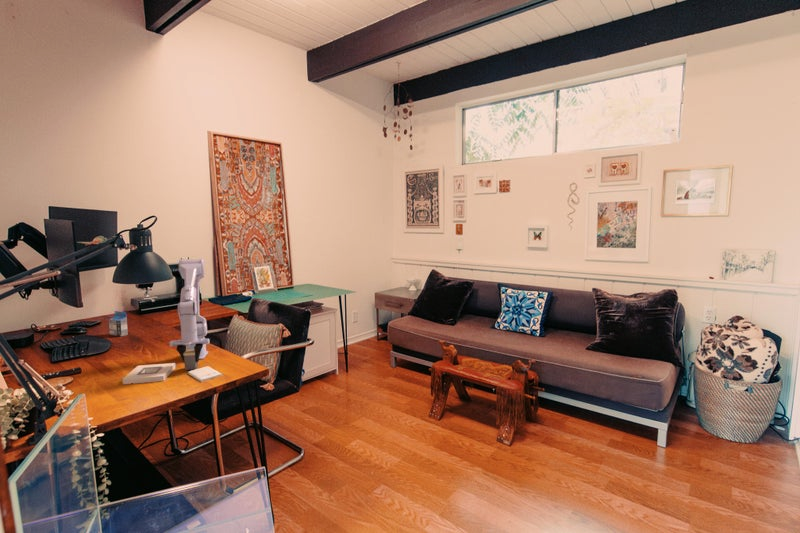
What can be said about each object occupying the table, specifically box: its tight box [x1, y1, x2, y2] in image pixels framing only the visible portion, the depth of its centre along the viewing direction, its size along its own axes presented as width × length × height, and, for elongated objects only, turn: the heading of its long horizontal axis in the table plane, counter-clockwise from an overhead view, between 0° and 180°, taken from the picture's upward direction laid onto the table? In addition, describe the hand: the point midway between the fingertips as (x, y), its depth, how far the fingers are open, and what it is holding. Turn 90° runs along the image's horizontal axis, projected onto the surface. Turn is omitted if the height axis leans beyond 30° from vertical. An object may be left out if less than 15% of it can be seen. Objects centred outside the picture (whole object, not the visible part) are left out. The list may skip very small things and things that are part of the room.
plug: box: [183, 349, 199, 371], centre depth 167 cm, size 4×4×7 cm
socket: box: [122, 362, 177, 385], centre depth 160 cm, size 14×14×2 cm
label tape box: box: [108, 310, 129, 337], centre depth 214 cm, size 9×4×12 cm, turn 71°
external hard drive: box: [187, 365, 223, 383], centre depth 161 cm, size 2×8×12 cm
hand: (191, 361), depth 167 cm, fingers closed on plug, 4 cm apart
